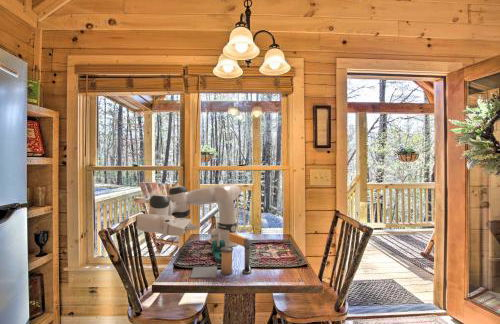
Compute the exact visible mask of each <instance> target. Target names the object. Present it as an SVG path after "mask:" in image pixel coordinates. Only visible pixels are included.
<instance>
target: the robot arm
mask: <svg viewBox="0 0 500 324" xmlns="http://www.w3.org/2000/svg"><path fill="white" fill-rule="evenodd" d="M240 194H241V188H240V187H239V185H237V184H234V183H225V184H219V185H214V186H207V187H202V188H195V189H193V190H190V191H189V189H188V188H186V187H185V186H184V185H178V184H176V185H173V186H171V187H170V188H169V190H168V195H169V196H168V195H165V194H163V193H162V194H161V193H159V194H153V195H152V196H151V197H150V198H149V205H148V206H149V208H148V213H138V214H137V215H136V219H135V222H134V223H135V229H136V230H138V231H139V232H140V231H141V232H145V233H159V234H162V236H163V237H168V236H172V237H181V236H184V235H185V233H186V232H187V231H189V232H190V231H197V229H198V225H197V224H192V219H191V218H188V217H189V215H191V214H190V212H191V209H190V205H191V206H203V205H210V204H217V205H218V207H217V208H218V215H219V216H218V222H217V226H216V228H215V229H214V230H212V232H211V233H210V237H209V238H207V240H206V241H207V242H208V243H210V244H211V245H212V241H215V240H217V247H218V248H219V244H220V240H224V241H225V247H232V248H233V247H235V246H239V244H236V243H234V242H231V241H229V233H234V234H236V235H238V229H237V227H238V222H237V210H236V207H235V205H234V204H235V203H234V200H235V199H237V198H238V197H239V196H240ZM186 217H187V218H186Z"/></svg>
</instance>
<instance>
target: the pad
mask: <svg viewBox="0 0 500 324" xmlns="http://www.w3.org/2000/svg"><path fill="white" fill-rule="evenodd" d="M217 273H218V266H195V267H193V268H192V271H191V274H190V277H189V279H192V280H193V279H195V280H196V279H216V278H217Z"/></svg>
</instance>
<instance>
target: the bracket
mask: <svg viewBox="0 0 500 324" xmlns="http://www.w3.org/2000/svg"><path fill="white" fill-rule="evenodd" d="M222 247H225V241H224V240H220V244H219V247H217V240H215V241H212V244H211V253H212V256H213V255H214V256H213V257H214V260H215V262H216V261H217V262H216V263H220V262H221V261H222V251H221V248H222Z"/></svg>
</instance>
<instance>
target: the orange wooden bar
mask: <svg viewBox="0 0 500 324" xmlns="http://www.w3.org/2000/svg"><path fill="white" fill-rule="evenodd" d="M229 241H231V242H234V243H236V244H238V246H242V248H244V249H245V248H251V238H250V237H244V236H242V235H239V234H237V235H236V234H234V233H229Z"/></svg>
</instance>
